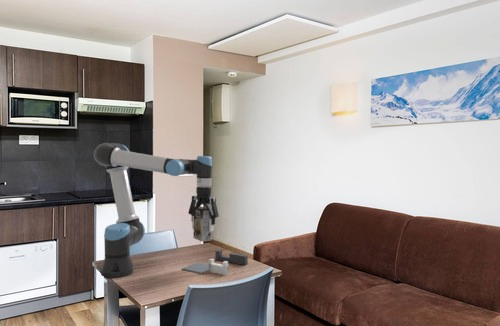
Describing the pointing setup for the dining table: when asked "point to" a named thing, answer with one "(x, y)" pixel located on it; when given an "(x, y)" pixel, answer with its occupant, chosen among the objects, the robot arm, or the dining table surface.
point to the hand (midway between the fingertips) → (202, 229)
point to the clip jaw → (218, 267)
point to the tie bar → (232, 258)
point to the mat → (197, 268)
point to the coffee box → (202, 224)
